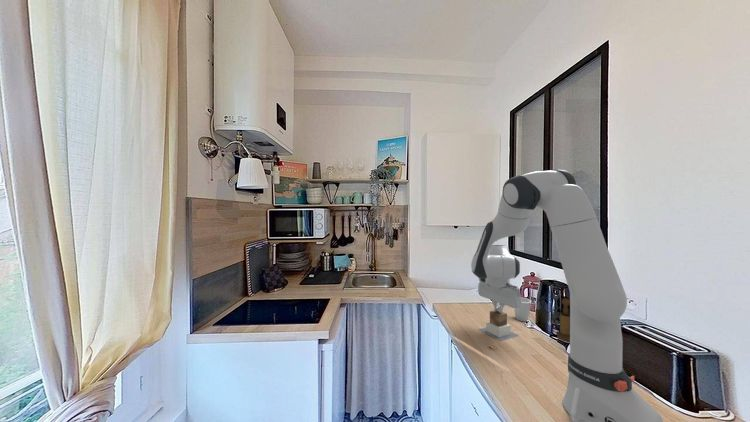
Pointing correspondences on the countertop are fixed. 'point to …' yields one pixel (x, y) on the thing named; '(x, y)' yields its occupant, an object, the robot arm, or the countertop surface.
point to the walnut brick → (498, 318)
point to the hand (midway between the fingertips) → (498, 311)
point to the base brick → (498, 329)
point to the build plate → (497, 336)
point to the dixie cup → (523, 310)
